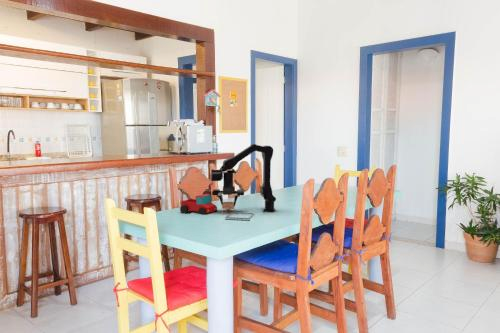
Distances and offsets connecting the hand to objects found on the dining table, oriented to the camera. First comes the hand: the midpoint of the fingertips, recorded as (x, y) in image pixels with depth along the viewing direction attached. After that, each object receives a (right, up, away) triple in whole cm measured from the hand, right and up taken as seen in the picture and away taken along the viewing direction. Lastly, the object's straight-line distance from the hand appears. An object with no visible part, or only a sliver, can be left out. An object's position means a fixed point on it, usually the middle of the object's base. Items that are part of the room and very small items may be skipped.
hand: (228, 206), depth 232 cm
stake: (0, -4, 0) cm, 4 cm away
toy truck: (-18, -4, 0) cm, 18 cm away
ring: (0, -1, 0) cm, 1 cm away
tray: (+7, -5, -13) cm, 16 cm away
